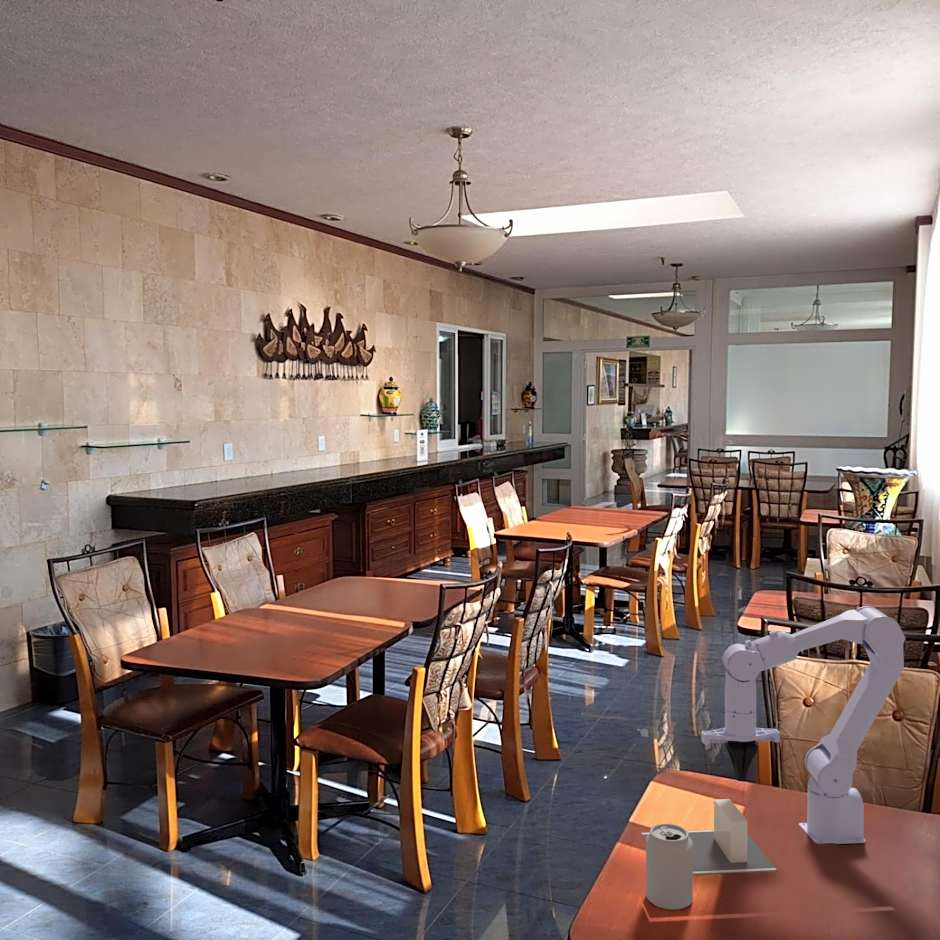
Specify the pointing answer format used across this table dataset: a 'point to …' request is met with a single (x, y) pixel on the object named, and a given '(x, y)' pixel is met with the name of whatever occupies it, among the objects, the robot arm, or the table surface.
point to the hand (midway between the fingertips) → (740, 779)
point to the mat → (723, 856)
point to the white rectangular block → (730, 830)
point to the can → (669, 867)
